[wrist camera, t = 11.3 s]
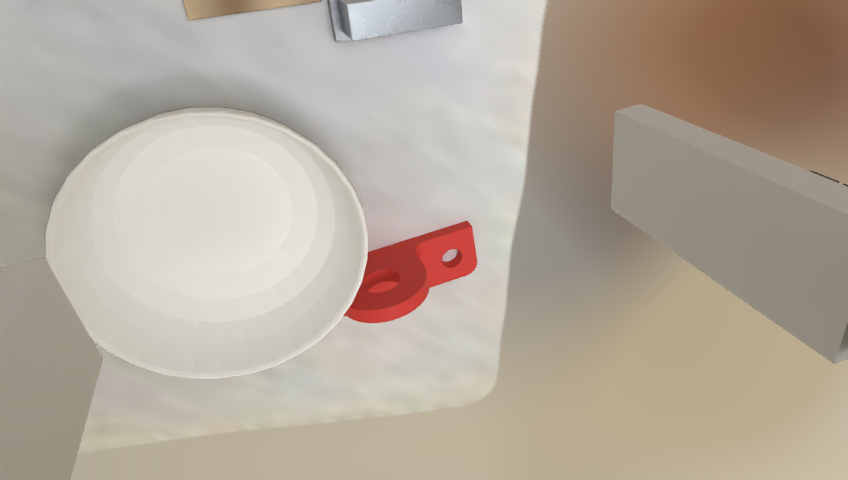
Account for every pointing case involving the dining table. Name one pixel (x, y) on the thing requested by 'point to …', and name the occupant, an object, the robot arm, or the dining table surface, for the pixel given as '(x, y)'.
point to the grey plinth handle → (390, 16)
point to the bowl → (207, 243)
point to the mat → (233, 6)
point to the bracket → (411, 273)
